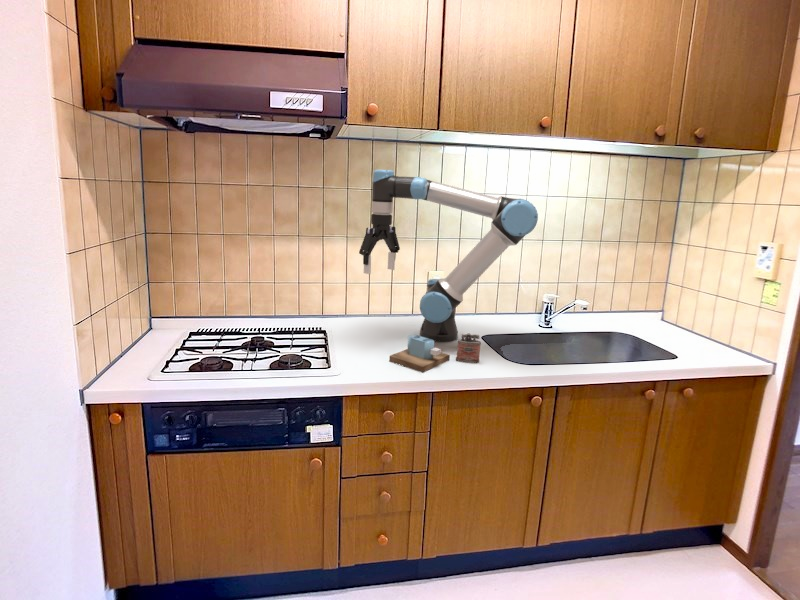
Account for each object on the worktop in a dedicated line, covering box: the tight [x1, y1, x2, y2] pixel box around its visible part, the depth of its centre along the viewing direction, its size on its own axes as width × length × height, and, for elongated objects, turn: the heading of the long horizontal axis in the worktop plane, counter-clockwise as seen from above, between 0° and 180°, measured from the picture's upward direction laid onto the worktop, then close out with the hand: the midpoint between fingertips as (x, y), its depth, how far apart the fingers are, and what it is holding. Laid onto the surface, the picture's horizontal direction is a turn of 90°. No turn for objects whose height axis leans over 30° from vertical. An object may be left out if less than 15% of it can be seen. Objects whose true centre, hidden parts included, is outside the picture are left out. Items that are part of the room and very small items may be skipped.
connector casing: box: [407, 334, 442, 360], centre depth 170 cm, size 4×12×6 cm, turn 52°
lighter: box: [455, 332, 482, 364], centre depth 173 cm, size 8×3×10 cm, turn 82°
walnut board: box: [389, 348, 451, 373], centre depth 172 cm, size 16×14×2 cm
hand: (379, 271), depth 185 cm, fingers open, 13 cm apart
